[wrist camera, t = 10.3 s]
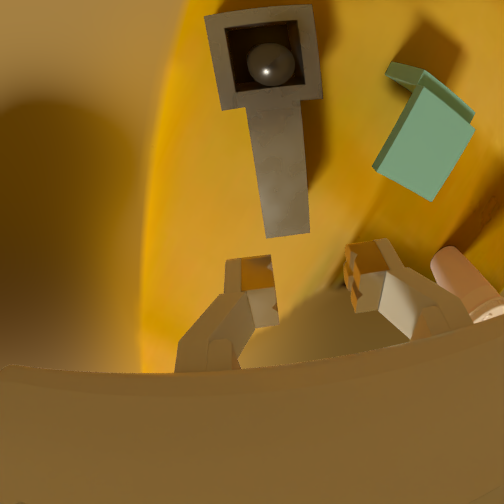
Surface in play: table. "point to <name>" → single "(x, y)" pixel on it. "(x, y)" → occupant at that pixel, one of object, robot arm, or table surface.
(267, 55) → the pintle
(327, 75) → the table surface
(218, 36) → the link
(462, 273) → the smoothie
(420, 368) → the robot arm
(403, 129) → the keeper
